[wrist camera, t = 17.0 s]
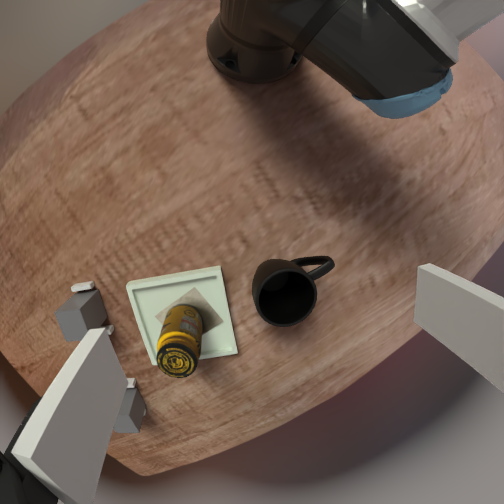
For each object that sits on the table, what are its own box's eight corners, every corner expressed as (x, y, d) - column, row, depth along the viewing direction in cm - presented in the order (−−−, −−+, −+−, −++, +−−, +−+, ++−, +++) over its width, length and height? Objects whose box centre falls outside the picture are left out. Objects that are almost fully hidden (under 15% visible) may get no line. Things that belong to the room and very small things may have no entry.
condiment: (154, 315, 43) (138, 357, 31) (194, 286, 42) (188, 322, 31) (183, 346, 45) (177, 393, 33) (223, 320, 44) (227, 363, 33)
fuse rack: (70, 284, 41) (48, 302, 33) (98, 279, 41) (78, 298, 33) (125, 411, 48) (117, 437, 40) (150, 410, 48) (145, 437, 41)
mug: (325, 269, 46) (350, 289, 37) (263, 308, 46) (275, 338, 37) (302, 227, 44) (325, 239, 34) (236, 269, 44) (243, 291, 35)
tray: (129, 281, 42) (125, 285, 40) (220, 265, 43) (220, 269, 41) (154, 358, 46) (152, 365, 44) (236, 347, 47) (237, 353, 45)
